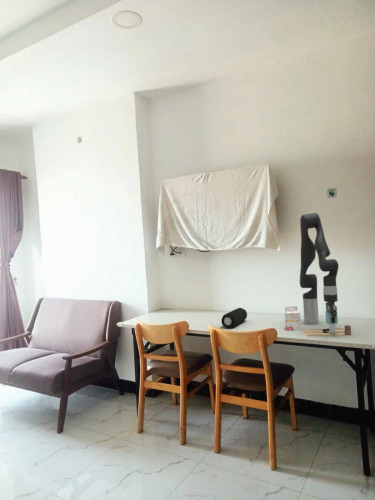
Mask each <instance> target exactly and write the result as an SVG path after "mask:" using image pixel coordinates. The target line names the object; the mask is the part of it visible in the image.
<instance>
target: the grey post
mask: <svg viewBox="0 0 375 500" xmlns="http://www.w3.org/2000/svg"><path fill="white" fill-rule="evenodd" d="M328 325H329V328H328V329H330V334H331V335H334V334H336V331H335V328H336V324H328Z"/></svg>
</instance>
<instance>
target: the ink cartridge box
mask: <svg viewBox="0 0 375 500" xmlns="http://www.w3.org/2000/svg"><path fill="white" fill-rule="evenodd" d="M284 325H285V326H284V328H285V330H286V331H289V332H290V331H302V328H301V326H302V325H301V312H300V311H298V305H296V306H294V305H292V306H285V307H284Z"/></svg>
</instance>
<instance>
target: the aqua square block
mask: <svg viewBox="0 0 375 500" xmlns="http://www.w3.org/2000/svg"><path fill="white" fill-rule="evenodd" d="M333 314H334V313H333ZM325 323H326V324H328V325H329V324H335V325H338V323H339V320H338V315H337V316H336V317H335V323H331V313H329V311H326V310H325Z"/></svg>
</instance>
